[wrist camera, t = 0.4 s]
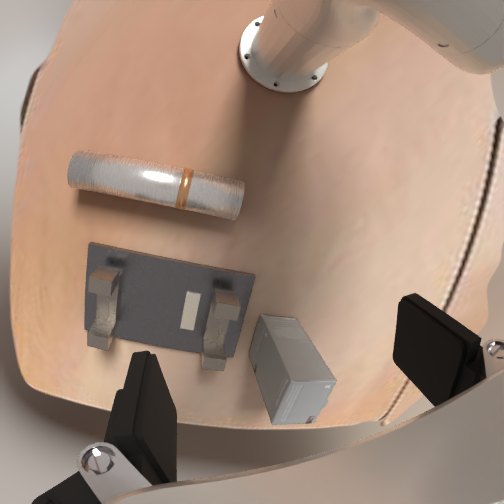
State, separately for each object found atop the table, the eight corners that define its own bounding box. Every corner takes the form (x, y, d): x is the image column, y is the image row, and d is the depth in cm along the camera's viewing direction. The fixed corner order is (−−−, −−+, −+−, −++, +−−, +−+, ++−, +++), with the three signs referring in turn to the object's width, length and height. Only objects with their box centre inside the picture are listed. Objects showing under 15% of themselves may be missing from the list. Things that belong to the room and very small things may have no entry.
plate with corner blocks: (91, 241, 40) (71, 257, 33) (254, 274, 45) (264, 296, 38) (86, 326, 43) (71, 352, 36) (232, 353, 48) (238, 383, 41)
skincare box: (259, 312, 47) (285, 377, 32) (302, 317, 49) (341, 379, 34) (246, 356, 49) (265, 427, 34) (287, 360, 51) (316, 426, 36)
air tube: (79, 186, 37) (64, 189, 32) (86, 149, 36) (71, 148, 31) (232, 216, 42) (236, 224, 37) (241, 180, 41) (247, 182, 36)
